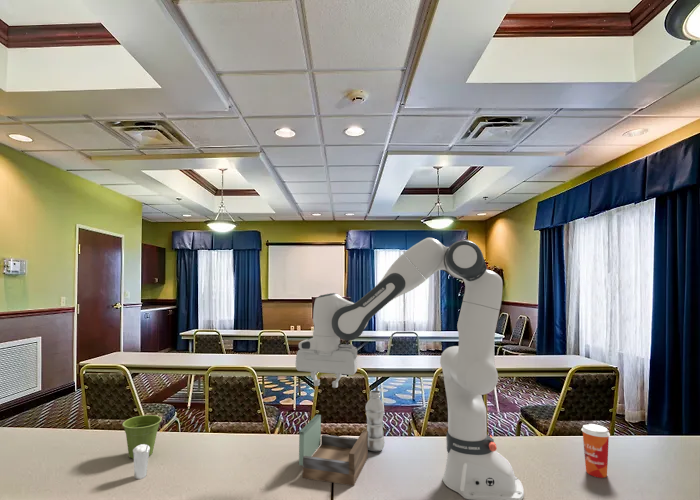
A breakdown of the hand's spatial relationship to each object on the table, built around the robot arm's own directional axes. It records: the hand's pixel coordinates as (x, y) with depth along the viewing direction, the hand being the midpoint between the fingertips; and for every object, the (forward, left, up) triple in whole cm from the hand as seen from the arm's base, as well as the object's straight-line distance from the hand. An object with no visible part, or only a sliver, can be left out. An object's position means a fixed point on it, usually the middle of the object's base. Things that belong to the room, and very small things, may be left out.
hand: (325, 386), depth 131 cm
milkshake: (+51, +22, -25) cm, 61 cm away
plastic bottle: (-13, -16, -25) cm, 33 cm away
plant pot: (+62, +10, -25) cm, 68 cm away
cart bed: (-4, 0, -25) cm, 25 cm away
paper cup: (-83, -19, -25) cm, 89 cm away
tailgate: (+4, 0, -22) cm, 23 cm away
